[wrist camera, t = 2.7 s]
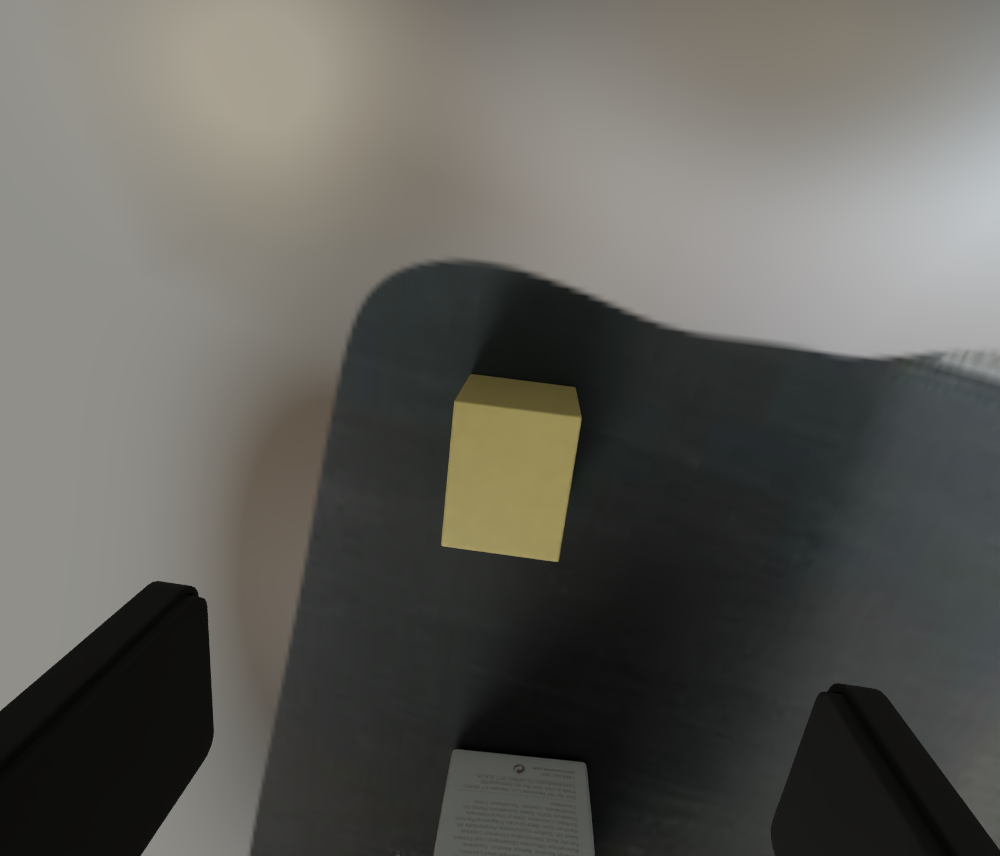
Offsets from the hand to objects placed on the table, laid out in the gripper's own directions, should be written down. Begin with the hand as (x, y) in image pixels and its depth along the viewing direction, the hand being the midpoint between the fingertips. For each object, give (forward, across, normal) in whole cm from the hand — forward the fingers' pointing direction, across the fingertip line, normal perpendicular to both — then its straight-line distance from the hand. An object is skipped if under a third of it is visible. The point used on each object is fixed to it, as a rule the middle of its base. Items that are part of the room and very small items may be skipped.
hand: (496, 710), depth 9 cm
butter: (+12, 0, 0) cm, 12 cm away
